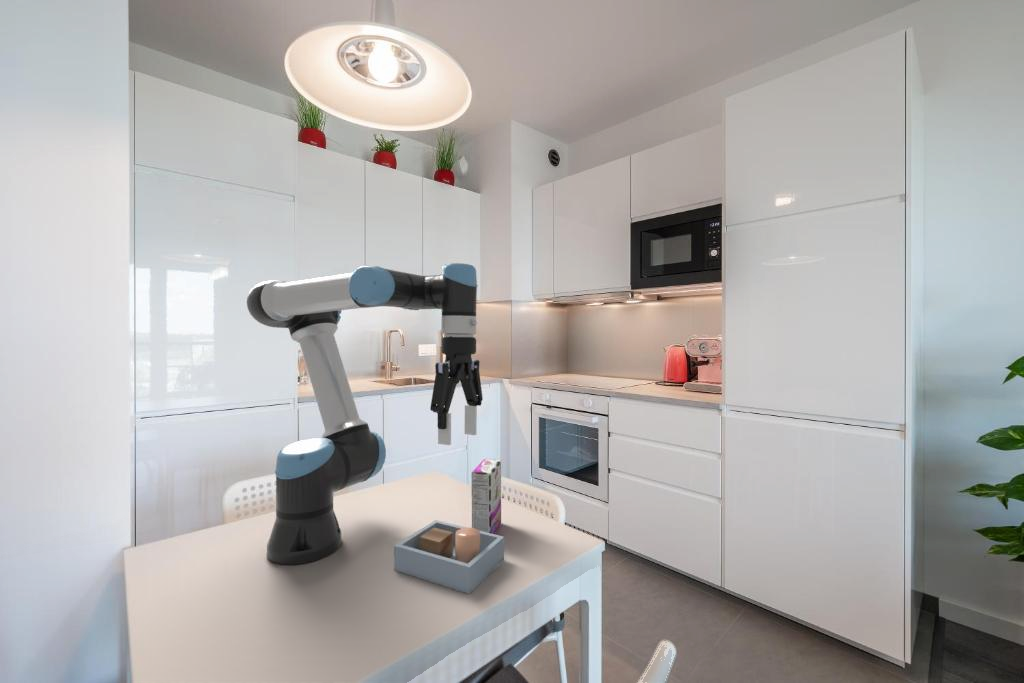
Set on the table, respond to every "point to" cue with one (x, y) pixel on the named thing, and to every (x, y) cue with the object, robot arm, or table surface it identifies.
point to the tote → (449, 560)
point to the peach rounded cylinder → (467, 544)
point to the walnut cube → (437, 542)
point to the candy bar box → (486, 496)
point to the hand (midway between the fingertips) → (458, 438)
